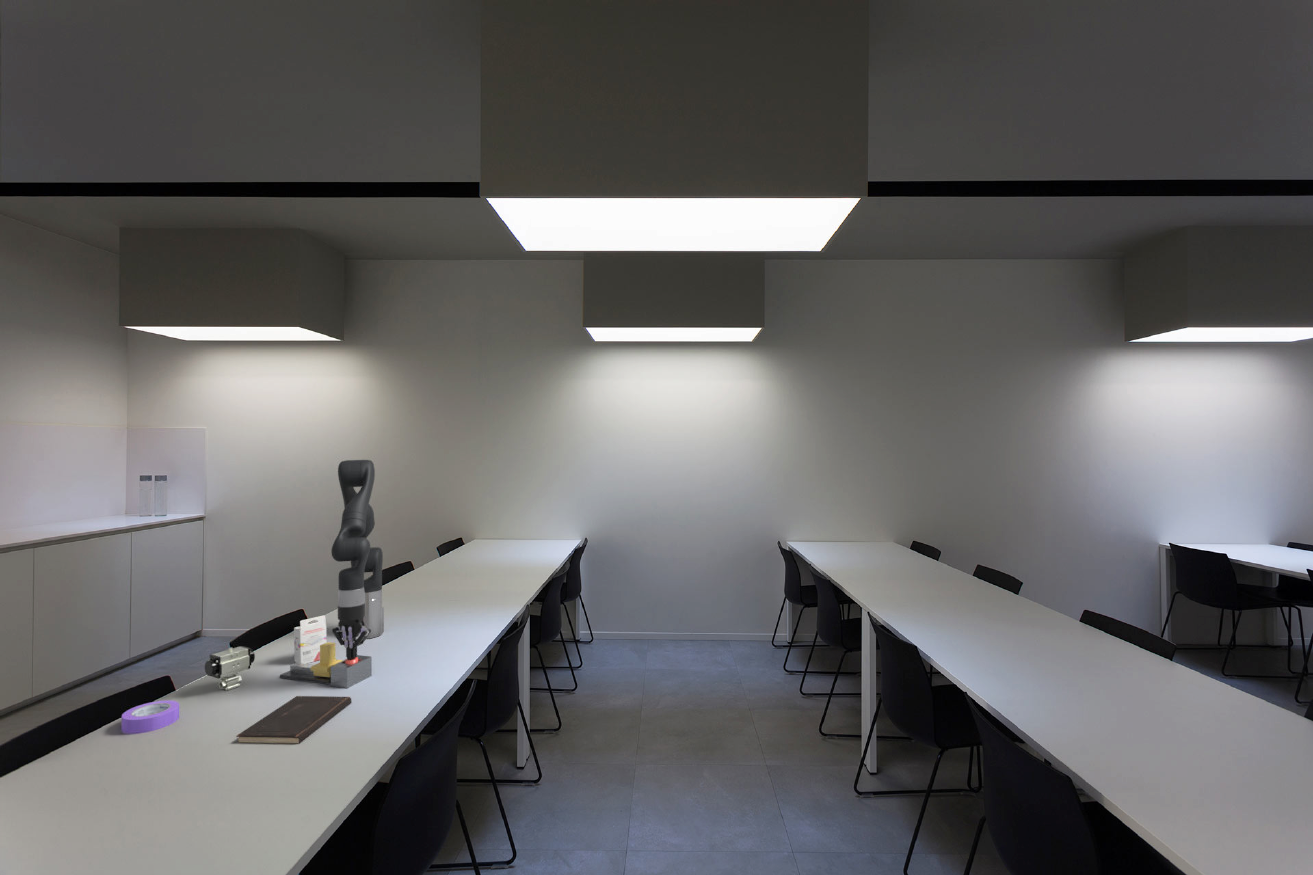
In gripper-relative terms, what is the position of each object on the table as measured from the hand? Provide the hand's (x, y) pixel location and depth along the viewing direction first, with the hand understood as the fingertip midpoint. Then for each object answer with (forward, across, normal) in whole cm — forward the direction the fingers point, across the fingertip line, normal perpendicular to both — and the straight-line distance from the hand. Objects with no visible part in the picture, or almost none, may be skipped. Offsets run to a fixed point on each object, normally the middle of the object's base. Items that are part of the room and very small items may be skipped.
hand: (351, 658), depth 187 cm
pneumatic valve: (+7, +31, +14) cm, 35 cm away
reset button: (+5, 0, 0) cm, 5 cm away
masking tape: (+7, +30, +37) cm, 48 cm away
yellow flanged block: (+5, +9, 0) cm, 11 cm away
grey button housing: (+7, 0, 0) cm, 7 cm away
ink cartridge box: (+7, +27, -11) cm, 30 cm away
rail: (+7, +14, 0) cm, 16 cm away
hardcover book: (+8, -7, +26) cm, 28 cm away
